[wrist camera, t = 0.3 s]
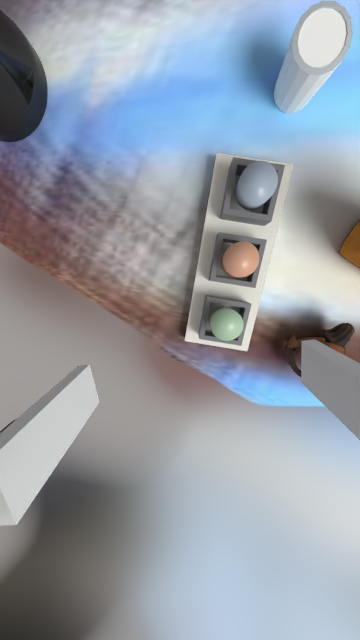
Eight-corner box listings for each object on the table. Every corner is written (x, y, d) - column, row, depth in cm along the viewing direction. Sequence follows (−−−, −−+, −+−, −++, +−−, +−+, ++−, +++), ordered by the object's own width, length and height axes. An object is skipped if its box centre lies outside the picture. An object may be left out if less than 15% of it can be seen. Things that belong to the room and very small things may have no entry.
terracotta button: (224, 242, 31) (228, 238, 28) (256, 247, 31) (263, 244, 28) (218, 274, 32) (221, 274, 29) (248, 279, 32) (254, 279, 29)
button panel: (215, 159, 33) (219, 139, 28) (287, 171, 32) (305, 152, 28) (184, 337, 40) (184, 346, 35) (244, 347, 40) (252, 357, 35)
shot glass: (292, 51, 29) (324, -18, 22) (326, 85, 30) (366, 29, 23) (259, 97, 30) (280, 46, 24) (292, 129, 31) (320, 88, 24)
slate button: (238, 169, 29) (244, 158, 26) (272, 175, 29) (282, 163, 26) (231, 207, 30) (235, 200, 27) (264, 212, 30) (272, 205, 27)
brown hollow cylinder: (321, 376, 41) (323, 397, 34) (278, 348, 44) (272, 363, 38) (369, 330, 35) (381, 345, 28) (315, 302, 39) (315, 310, 32)
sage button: (212, 304, 33) (214, 307, 30) (241, 309, 33) (246, 312, 30) (206, 332, 35) (208, 338, 32) (235, 337, 34) (239, 343, 32)
